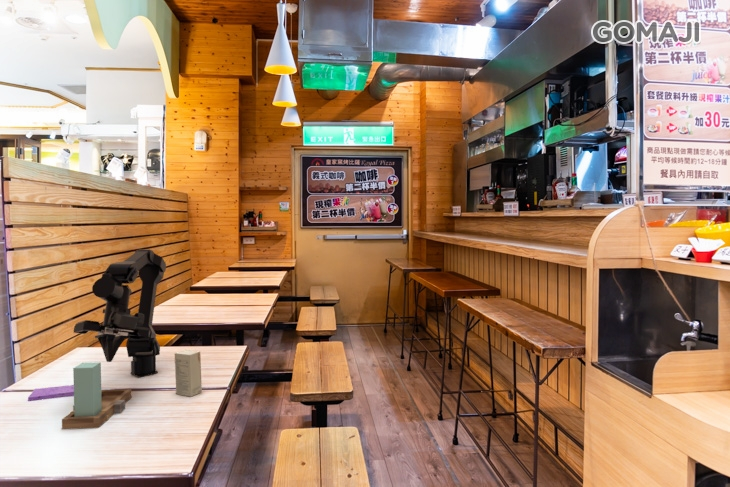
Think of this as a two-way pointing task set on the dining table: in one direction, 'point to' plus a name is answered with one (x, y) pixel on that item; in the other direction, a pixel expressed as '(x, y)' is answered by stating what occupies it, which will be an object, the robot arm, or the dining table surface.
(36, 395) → the sponges
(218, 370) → the dining table surface
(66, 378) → the dining table surface
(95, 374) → the grey-green tall block
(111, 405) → the wooden tray
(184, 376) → the skincare box
